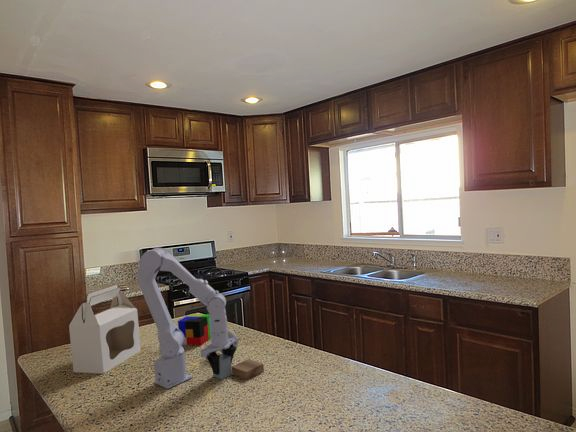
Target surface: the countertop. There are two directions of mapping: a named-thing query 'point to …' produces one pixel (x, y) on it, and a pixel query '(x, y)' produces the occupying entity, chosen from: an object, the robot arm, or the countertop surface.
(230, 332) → the donut
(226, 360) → the grey block
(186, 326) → the puzzle toy
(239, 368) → the walnut block
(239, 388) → the countertop surface
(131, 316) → the gable box
